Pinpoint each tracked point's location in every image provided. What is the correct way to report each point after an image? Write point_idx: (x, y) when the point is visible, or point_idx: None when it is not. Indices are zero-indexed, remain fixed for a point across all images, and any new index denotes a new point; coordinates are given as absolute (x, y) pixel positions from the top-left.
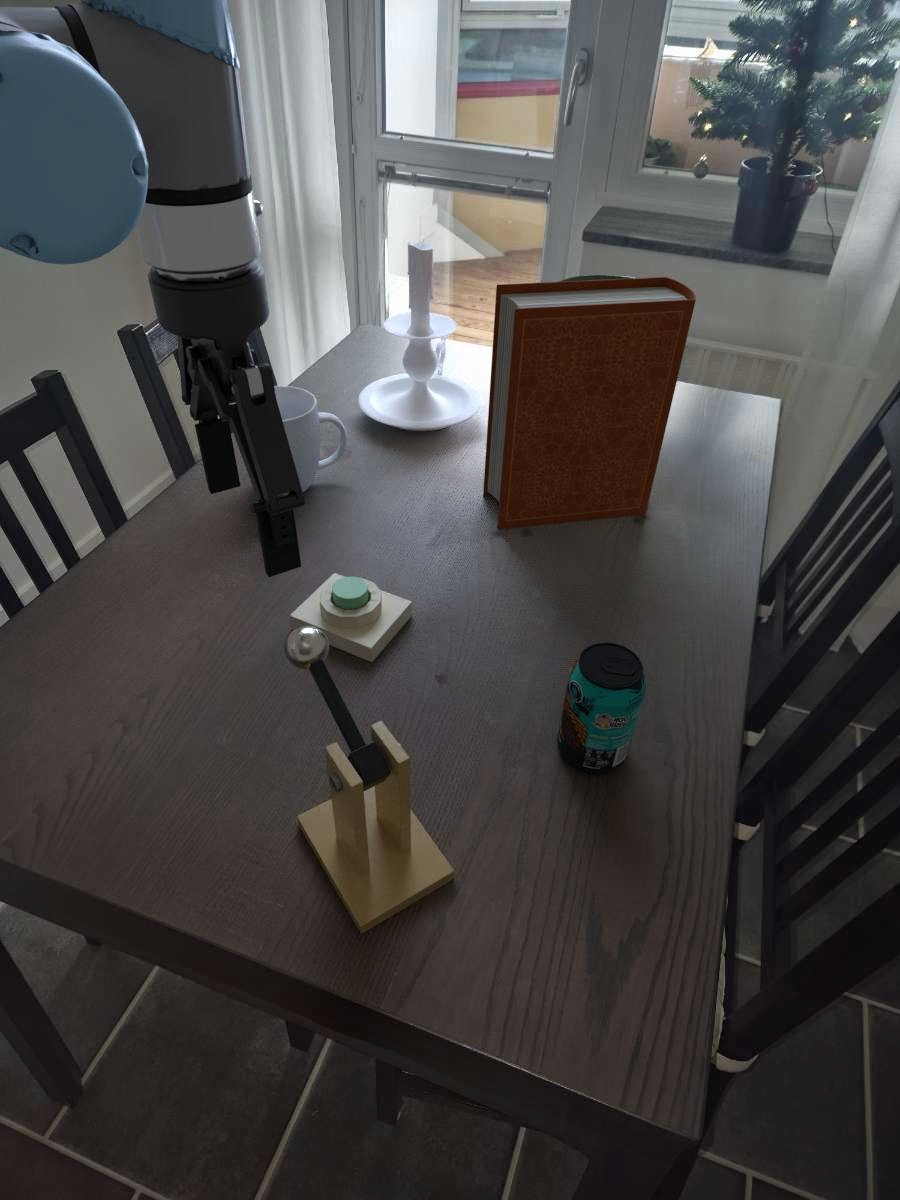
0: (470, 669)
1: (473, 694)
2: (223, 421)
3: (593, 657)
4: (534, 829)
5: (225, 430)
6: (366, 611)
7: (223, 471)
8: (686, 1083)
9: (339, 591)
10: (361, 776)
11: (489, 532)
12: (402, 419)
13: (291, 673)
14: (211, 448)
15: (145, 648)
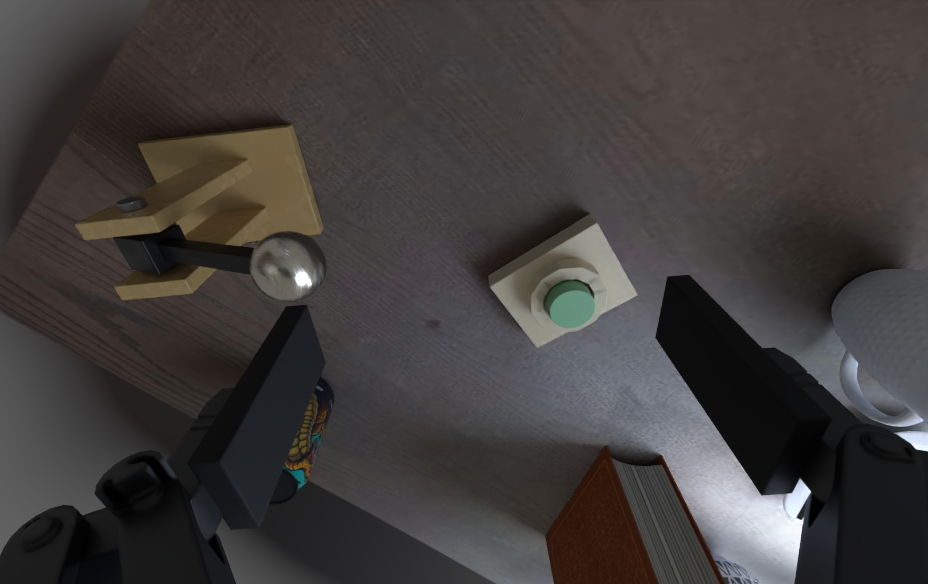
0: (433, 350)
1: (401, 340)
2: (768, 485)
3: (279, 479)
4: (234, 320)
5: (746, 457)
6: (533, 307)
7: (684, 342)
8: (9, 312)
9: (572, 296)
10: (119, 238)
11: (606, 438)
12: None
13: (517, 189)
14: (732, 380)
15: (681, 3)
